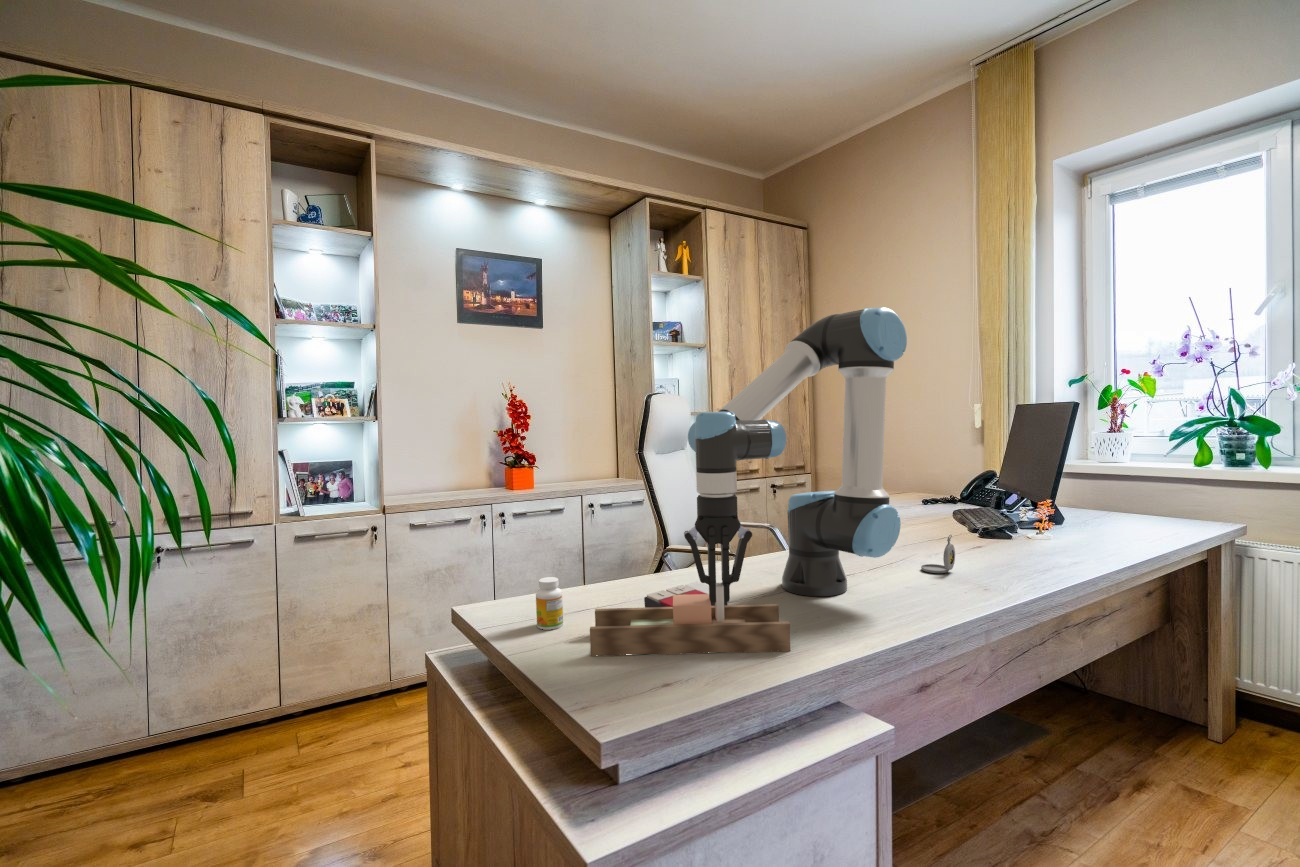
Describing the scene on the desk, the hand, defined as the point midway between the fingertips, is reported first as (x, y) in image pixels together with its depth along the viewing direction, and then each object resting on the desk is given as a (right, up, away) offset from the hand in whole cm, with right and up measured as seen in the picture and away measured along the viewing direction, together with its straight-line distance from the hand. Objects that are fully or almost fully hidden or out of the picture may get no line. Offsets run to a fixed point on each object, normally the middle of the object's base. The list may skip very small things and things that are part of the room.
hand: (719, 618), depth 121 cm
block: (-5, -2, 0) cm, 5 cm away
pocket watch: (+61, -1, +44) cm, 76 cm away
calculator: (-5, -4, +21) cm, 22 cm away
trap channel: (-6, -5, 0) cm, 7 cm away
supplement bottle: (-34, -5, +12) cm, 36 cm away
